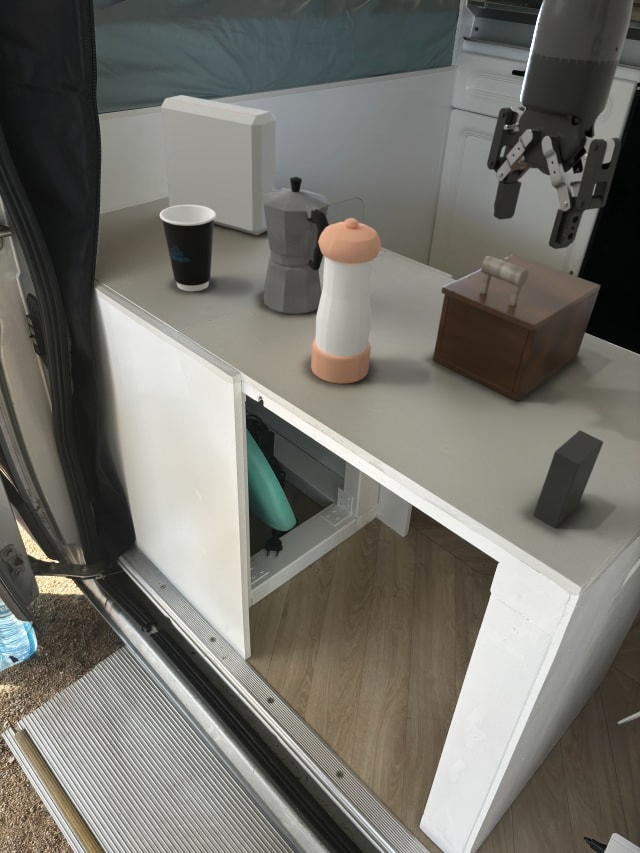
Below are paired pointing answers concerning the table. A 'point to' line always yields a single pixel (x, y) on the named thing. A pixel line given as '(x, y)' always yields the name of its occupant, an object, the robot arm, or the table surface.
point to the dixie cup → (189, 244)
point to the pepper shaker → (345, 302)
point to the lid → (521, 290)
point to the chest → (508, 346)
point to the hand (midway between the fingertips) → (529, 231)
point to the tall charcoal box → (567, 478)
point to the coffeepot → (294, 248)
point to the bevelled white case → (220, 159)
